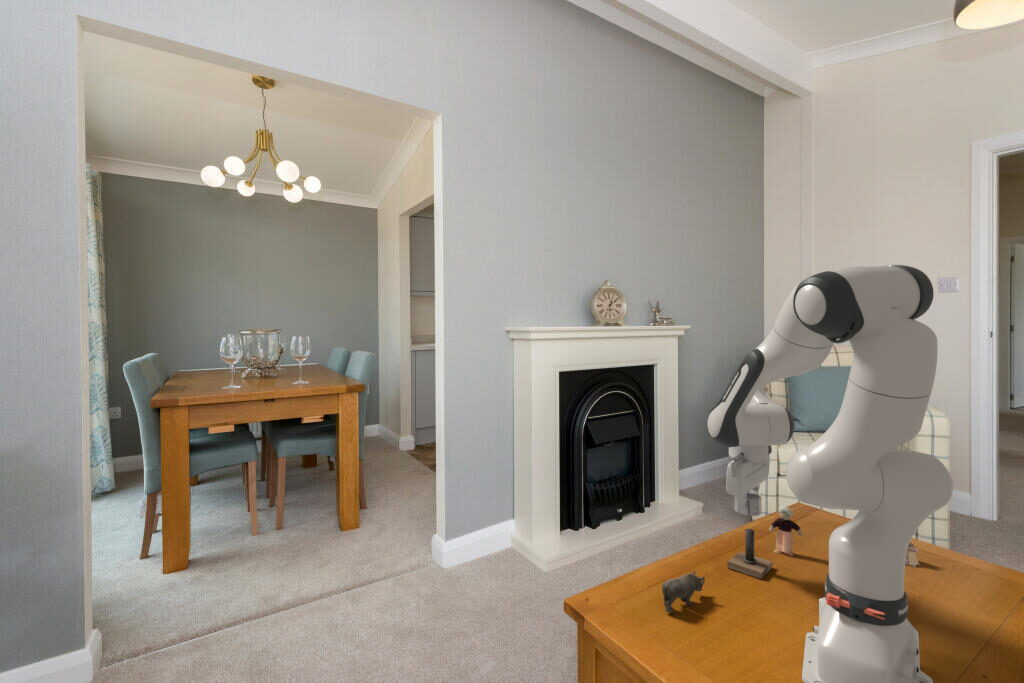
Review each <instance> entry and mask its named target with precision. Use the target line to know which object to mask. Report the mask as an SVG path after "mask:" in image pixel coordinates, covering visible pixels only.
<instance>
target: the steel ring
mask: <svg viewBox="0 0 1024 683" xmlns="http://www.w3.org/2000/svg"><path fill="white" fill-rule="evenodd" d="M733 496H734V498H733V500H734V505H733V506H734V512H736V513H737V514H740V515H744V516H749V517H755V516H756V517H758V516H760V515H762V513H763V512H762V507H763V506H762V496H761V495H759V493H758V494H755V493H750V491H749V492H747V496H746V501H748V507H747V508H746V509H745V510H743V509H739V508H738V500H737V497H736V496H735V495H733Z"/></svg>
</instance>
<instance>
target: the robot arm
mask: <svg viewBox="0 0 1024 683" xmlns="http://www.w3.org/2000/svg"><path fill="white" fill-rule="evenodd" d="M934 293H935V292H934V287H933V284H932V281H931V280H930V277H929V276H928V275H927V274H926V273H925V272H923V271H922V270H920V269H919V268H916V267H913V266H909V265H905V264H903V265H902V264H889V265H885V266H883V265H877V266H876V265H875V266H874V265H873V266H872V265H871V266H865V265H864V266H863V265H862V266H852V267H851V266H850V267H847V268H841V269H836V270H833V271H830V270H829V271H827V270H825V271H821V272H817V273H816V274H813V275H811V276H809V277H807V278H805V279H804V280H802V281H801V282H799V283H798V284H796V285H795V286H794V287H793V288H792V290H791V291H790V293H789V294H788V296H787V297H786V299H785V301H784V303H783V304H782V306H781V308H780V310H779V312H778V314H777V317H776V318H775V321H774V323H773V327H772V329H771V331H770V332H769V334H768V335H767V337H765V339H763V341H762V342H761V343H759V344H758V346H757V347H755V348H754V349H753V350H751V351H749V352H748V353H747V354H746V355H745V356H744V357H743V359H742V360H741V362H740V364H739V365H738V367H737V368H736V371H735V373H734V374H733V376H732V378H730V381H729V383H728V384H727V386H726V388H725V390H724V392H723V394H722V395H721V397H720V399H719V400H718V402H716V404H715V405H714V406H713V407H712V409H711V410H710V411H709V413H708V414H707V415H708V416H707V420H706V427H707V433H708V435H709V437H710V438H711V439H712V440H713V441H714V442H716V444H718V445H719V446H721V447H722V448H724V449H726V448H728V456H729V457H731V458H732V461H729V462H728V464H727V466H726V478H725V479H726V480H725V490H726V493H727V494H728V495H731V496H734V495H735V496H736V497H737V500H738V508H739V509H743V510H745V509H746V508H747V507H748V501H746V496H747V492H750V493H755V494H758V495H759V490H760V487H761V486H760V485H761V484H762V483H763V482H765V481H766V480H768V477H769V474H770V465H771V464H770V463H771V462H770V461H771V460H770V459H771V456H770V455H771V454H772V453H773V446H781V445H785V444H787V443H788V442H790V440H791V439H792V438H793V434H794V433H795V420H794V417H793V415H792V413H791V412H790V410H788V409H787V407H785V406H784V405H782V404H781V405H780V404H778V403H777V402H774V401H773V400H772V399H771V398H769V396H768V394H767V391H766V389H765V388H764V386H766V385H768V384H771V383H773V382H777V381H781V380H783V379H788V378H791V377H796V376H801V375H804V374H808V373H810V372H813V371H814V370H816V369H817V368H819V367H820V366H821V365H822V364H823V363H824V362H825V360H826V359H827V358H828V356H829V355H830V352H831V350H832V348H833V346H834V344H842V343H845V342H849V343H850V345H851V347H852V350H853V357H852V362H851V366H850V371H849V375H848V380H847V384H846V387H845V388H846V389H845V392H844V396H843V400H842V402H841V403H842V404H841V406H840V409H839V412H838V414H837V416H836V417H835V419H834V421H833V422H832V424H831V425H830V426H829V427H828V429H826V431H824V433H823V434H822V435H820V437H818V438H817V439H816V440H815V441H813V442H811V443H810V444H809V445H807V446H805V447H804V448H800V449H799V450H797V451H794V453H793V454H792V455H791V456H790V458H789V459H788V461H787V464H786V468H785V477H786V481H787V485H788V487H789V489H790V491H791V492H792V494H793V495H794V497H796V499H797V500H798V501H800V502H801V503H803V504H807V505H811V506H816V507H820V508H824V509H829V510H845V511H848V510H849V511H858V512H857V513H856V515H855V516H854V517H853V518H852V519H850V520H849V521H848V522H846V523H844V524H842V525H839V526H838V527H837V528H835V529H834V530H833V531H832V532H831V534H830V536H829V539H828V573H826V578H825V583H824V597H821V598H819V599H818V608H819V609H818V616H819V617H818V620H819V621H818V625H813V627H812V631H809V632H807V633H806V635H805V639H804V640H805V643H804V651H803V652H804V653H803V662H802V671H801V673H802V674H801V681H802V682H803V683H934V680H933V679H932V678H931V677H930V676H929V675H928V674H926V673H925V672H924V671H922V670H921V665H920V661H921V660H920V638H919V636H920V635H919V632H918V631H917V630H916V628H915V627H914V626H913V625H912V623H911V622H910V621H909V620H908V609H909V601H908V594H907V593H906V591H905V569H906V564H905V560H906V553H907V549H908V546H909V543H911V541H912V538H913V537H914V535H915V533H916V531H917V530H918V529H919V527H920V526H921V525H922V524H923V523H924V521H925V520H927V519H928V518H929V517H930V516H931V515H932V514H934V513H935V512H937V511H939V510H940V509H942V508H944V507H945V506H947V504H948V503H949V502H950V500H951V498H952V496H953V492H954V483H953V479H952V476H951V475H952V474H951V473H950V472H949V470H948V468H947V467H946V466H945V465H944V463H943V462H942V461H941V460H940V459H938V458H937V457H936V456H935V455H932V454H929V453H924V452H921V451H916V450H910V449H905V448H899V447H900V446H903V445H904V444H907V443H908V442H911V440H913V439H915V437H917V435H918V434H919V433H920V431H921V430H922V427H923V425H924V424H923V423H924V420H925V416H926V413H927V409H928V405H929V402H930V399H931V398H930V397H931V395H932V391H933V387H934V383H935V378H936V372H937V363H938V349H939V348H938V337H937V335H936V333H935V332H934V330H933V329H932V328H931V327H930V326H928V325H926V324H925V323H923V322H921V321H918V320H916V319H918V318H920V317H922V316H924V314H926V313H927V311H929V309H930V307H931V306H932V303H933V301H934Z"/></svg>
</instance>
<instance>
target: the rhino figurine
mask: <svg viewBox="0 0 1024 683" xmlns="http://www.w3.org/2000/svg"><path fill="white" fill-rule="evenodd" d="M705 578H706V577H705V576H698V575H697V573H696V571H695V570H693V571H692V573H691V572H689V573H686V574H684V575H681V576H679V577H676V578H670V579H667V580H665V581H664V582H663V584H662V586H661V592H662V595H663V606H665V607H666V608H665V612H666V613H669V614H672V613H673V612H674V609H673V607H672V605H673V603H674V602H675V601H676V600H677V599H680V600H681V601H682V600H683V601H684V603H685V604H686V605H687V606H692V605H693V602H692V601H691V600H690V599H691V598H692V597H693V594H695V592H702V591H703V586H704V584H705V580H706V579H705Z"/></svg>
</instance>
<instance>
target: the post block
mask: <svg viewBox="0 0 1024 683" xmlns="http://www.w3.org/2000/svg"><path fill="white" fill-rule="evenodd" d="M744 531H745V532H744V533H745V534H744V535H745V536H744V538H745V540H744V541H745V543H744V544H745V551H744V552H741V551H738V552H737V553H736V554H735V555H734V556H732V557H731V558H730V559H729V560H728V561H727V567H728V568H727V567H726V568H727V569H729V568H730V570H732V569H733V571H735V570H736V572H738V571H739V573H741V574H742V573H743V574H744V575H748V576H750V577H754V578H757V579H760V580H762V579H763V578H764V577H765V576H766V575H767V574H768V573H769V572H770V571H771V569H773V561H772V560H768V559H765V558H762V557H758V556H755V530H754V529H752V528H746V529H745V530H744Z"/></svg>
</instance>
